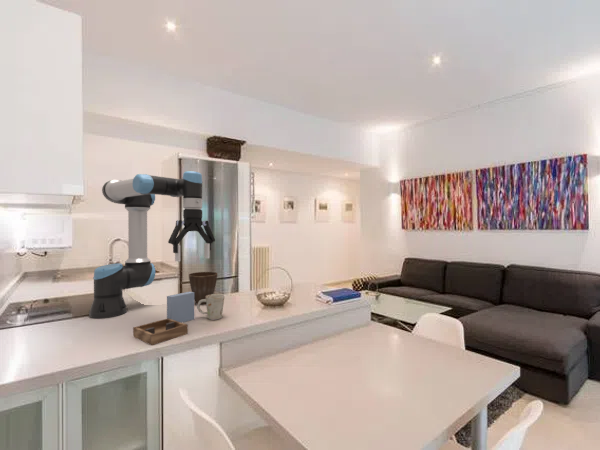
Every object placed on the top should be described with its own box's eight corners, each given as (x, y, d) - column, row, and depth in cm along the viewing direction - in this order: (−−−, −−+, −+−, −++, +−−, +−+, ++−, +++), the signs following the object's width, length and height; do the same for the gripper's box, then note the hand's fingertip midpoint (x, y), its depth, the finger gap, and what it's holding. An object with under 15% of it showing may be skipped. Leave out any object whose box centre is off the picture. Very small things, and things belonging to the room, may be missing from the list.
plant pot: (221, 300, 169) (221, 271, 169) (210, 307, 155) (210, 276, 155) (196, 299, 171) (196, 271, 171) (183, 306, 157) (183, 275, 157)
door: (166, 324, 128) (166, 296, 128) (189, 317, 137) (189, 291, 137) (171, 325, 126) (171, 297, 126) (194, 319, 135) (194, 292, 135)
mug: (221, 320, 133) (221, 298, 133) (193, 320, 133) (193, 298, 133) (226, 315, 141) (226, 293, 141) (200, 315, 141) (199, 293, 141)
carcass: (133, 336, 114) (133, 327, 114) (168, 326, 125) (168, 318, 125) (151, 345, 105) (151, 335, 105) (187, 333, 116) (187, 324, 116)
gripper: (168, 207, 113) (168, 263, 113) (222, 209, 133) (223, 257, 133) (158, 208, 118) (159, 261, 118) (212, 210, 137) (212, 256, 137)
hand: (193, 259), depth 125 cm, fingers open, 13 cm apart
